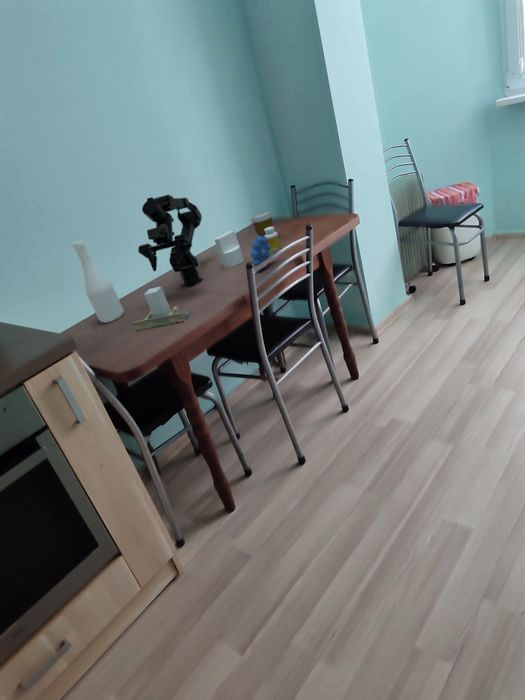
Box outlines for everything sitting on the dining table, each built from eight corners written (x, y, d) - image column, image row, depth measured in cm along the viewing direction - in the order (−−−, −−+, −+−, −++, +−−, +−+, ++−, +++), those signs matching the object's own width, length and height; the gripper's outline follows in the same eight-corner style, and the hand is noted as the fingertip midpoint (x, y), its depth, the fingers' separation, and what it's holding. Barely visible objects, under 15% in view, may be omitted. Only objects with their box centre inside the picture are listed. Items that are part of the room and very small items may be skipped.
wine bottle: (99, 319, 184) (62, 244, 171) (122, 309, 187) (88, 234, 173) (101, 326, 176) (64, 248, 163) (126, 315, 179) (91, 238, 165)
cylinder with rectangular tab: (231, 268, 193) (222, 239, 188) (218, 266, 200) (209, 239, 194) (248, 259, 198) (239, 230, 192) (235, 258, 204) (226, 230, 199)
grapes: (264, 261, 189) (256, 232, 183) (278, 260, 185) (270, 230, 179) (247, 274, 181) (238, 243, 176) (261, 273, 177) (252, 242, 172)
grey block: (161, 318, 166) (149, 289, 161) (173, 315, 165) (161, 286, 160) (156, 324, 163) (144, 294, 158) (168, 321, 161) (156, 291, 156)
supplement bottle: (280, 252, 193) (274, 228, 189) (268, 255, 195) (261, 231, 191) (282, 247, 198) (276, 224, 194) (270, 250, 200) (263, 227, 195)
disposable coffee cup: (282, 236, 213) (275, 209, 207) (271, 244, 206) (264, 217, 201) (264, 238, 218) (257, 212, 213) (253, 246, 212) (245, 219, 206)
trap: (144, 321, 168) (140, 313, 167) (191, 311, 163) (188, 303, 162) (136, 330, 163) (132, 322, 161) (184, 321, 158) (181, 313, 156)
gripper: (128, 224, 170) (129, 265, 166) (176, 210, 164) (178, 252, 160) (146, 238, 180) (147, 277, 176) (191, 225, 174) (193, 265, 170)
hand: (166, 268), depth 170 cm, fingers open, 9 cm apart
